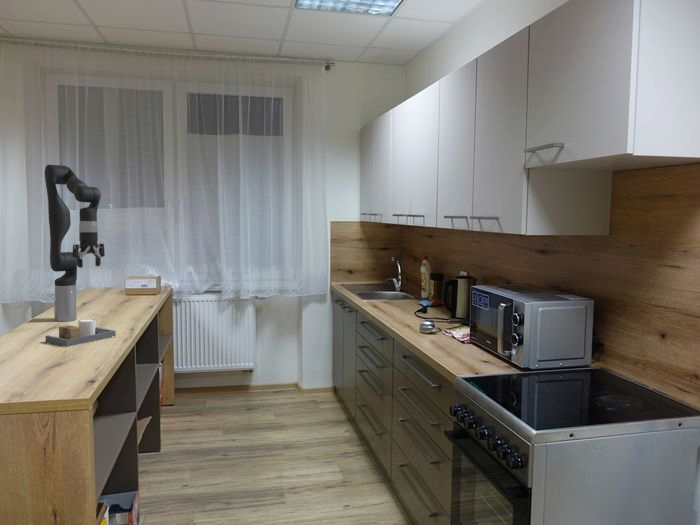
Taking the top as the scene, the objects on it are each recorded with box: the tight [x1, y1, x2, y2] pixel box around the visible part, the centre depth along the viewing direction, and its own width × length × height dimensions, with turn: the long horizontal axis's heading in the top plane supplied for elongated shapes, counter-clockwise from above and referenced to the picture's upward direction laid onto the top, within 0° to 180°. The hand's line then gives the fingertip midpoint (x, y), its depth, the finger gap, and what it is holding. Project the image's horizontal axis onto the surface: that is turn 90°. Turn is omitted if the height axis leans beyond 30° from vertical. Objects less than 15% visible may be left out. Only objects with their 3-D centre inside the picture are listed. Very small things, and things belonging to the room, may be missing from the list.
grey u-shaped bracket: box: [44, 327, 117, 347], centre depth 222 cm, size 14×22×2 cm, turn 151°
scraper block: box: [58, 324, 80, 339], centre depth 218 cm, size 8×4×6 cm, turn 61°
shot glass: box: [77, 318, 97, 337], centre depth 227 cm, size 7×7×7 cm
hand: (89, 266), depth 242 cm, fingers open, 8 cm apart
